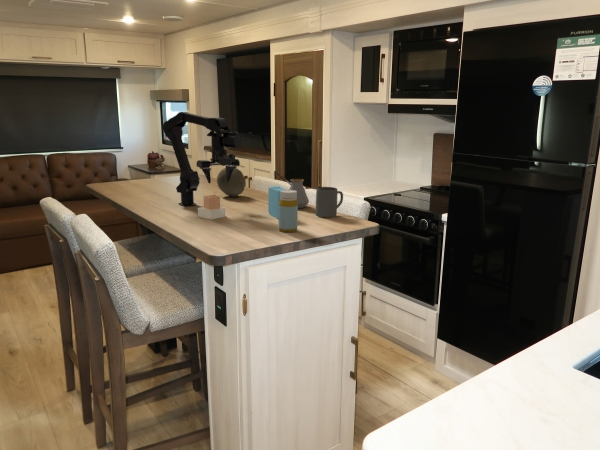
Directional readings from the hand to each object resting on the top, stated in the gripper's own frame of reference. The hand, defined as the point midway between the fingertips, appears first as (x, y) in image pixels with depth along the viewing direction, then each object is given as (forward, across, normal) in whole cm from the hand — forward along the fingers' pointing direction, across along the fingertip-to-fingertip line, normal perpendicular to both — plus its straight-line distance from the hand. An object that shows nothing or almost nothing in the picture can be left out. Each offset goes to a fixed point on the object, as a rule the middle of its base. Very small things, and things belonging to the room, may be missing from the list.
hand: (218, 182), depth 210 cm
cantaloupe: (+12, +20, +24) cm, 34 cm away
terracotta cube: (+8, -10, -12) cm, 18 cm away
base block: (+12, -10, -12) cm, 20 cm away
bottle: (+12, +3, -48) cm, 50 cm away
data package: (+12, +14, -26) cm, 32 cm away
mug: (+12, +34, -37) cm, 52 cm away
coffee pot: (+12, +32, -10) cm, 36 cm away
